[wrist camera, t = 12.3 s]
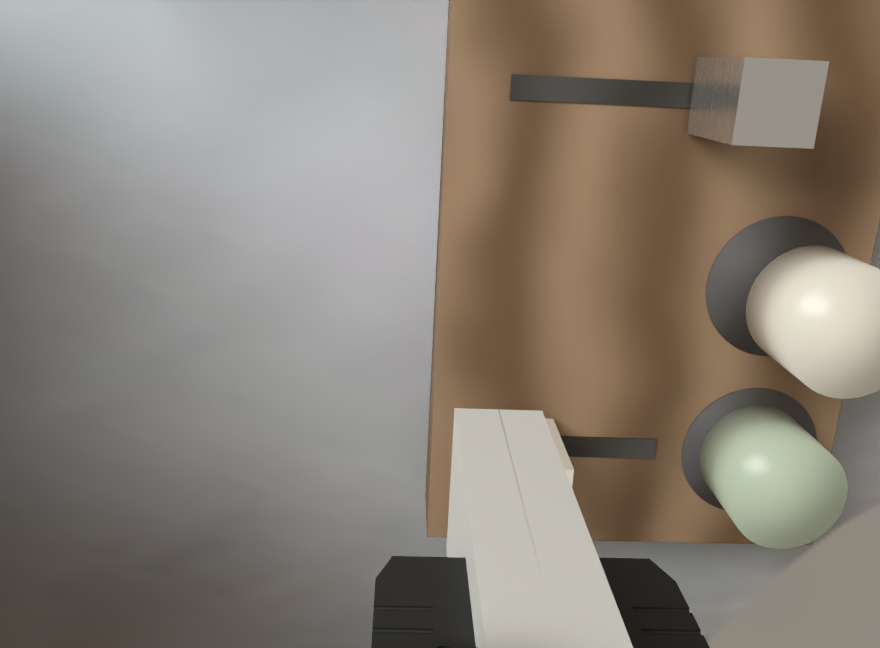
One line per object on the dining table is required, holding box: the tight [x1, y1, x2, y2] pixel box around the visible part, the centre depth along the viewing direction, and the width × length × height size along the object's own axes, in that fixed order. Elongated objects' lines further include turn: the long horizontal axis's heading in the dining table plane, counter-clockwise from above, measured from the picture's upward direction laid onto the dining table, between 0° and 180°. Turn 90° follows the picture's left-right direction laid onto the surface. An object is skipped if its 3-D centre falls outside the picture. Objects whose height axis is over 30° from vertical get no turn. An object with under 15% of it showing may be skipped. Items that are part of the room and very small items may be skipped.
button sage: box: [699, 405, 848, 549], centre depth 37 cm, size 5×5×4 cm
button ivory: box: [746, 246, 880, 399], centre depth 32 cm, size 5×5×4 cm
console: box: [425, 0, 880, 545], centre depth 39 cm, size 19×26×4 cm
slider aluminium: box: [687, 57, 829, 149], centre depth 32 cm, size 3×3×5 cm
